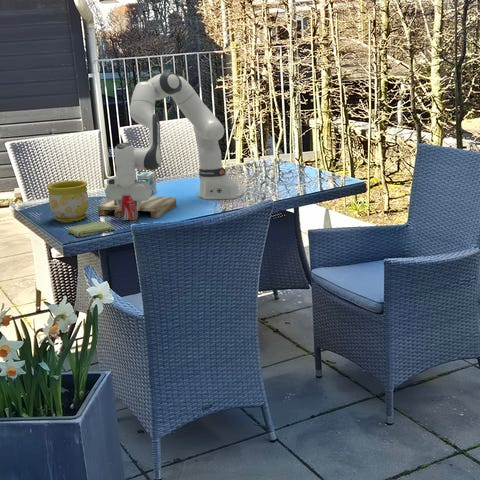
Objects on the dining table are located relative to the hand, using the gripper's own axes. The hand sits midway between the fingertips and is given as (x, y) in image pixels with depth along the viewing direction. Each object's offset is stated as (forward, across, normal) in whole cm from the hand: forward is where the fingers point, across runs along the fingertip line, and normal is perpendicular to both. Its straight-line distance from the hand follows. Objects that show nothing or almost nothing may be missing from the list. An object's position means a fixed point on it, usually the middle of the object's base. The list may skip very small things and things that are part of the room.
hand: (129, 209), depth 351 cm
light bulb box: (+5, +16, -52) cm, 55 cm away
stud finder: (0, +8, -12) cm, 14 cm away
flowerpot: (+5, +29, +3) cm, 29 cm away
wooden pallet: (+5, +4, -16) cm, 17 cm away
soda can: (+5, 0, 0) cm, 5 cm away
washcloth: (+5, +8, +22) cm, 24 cm away
